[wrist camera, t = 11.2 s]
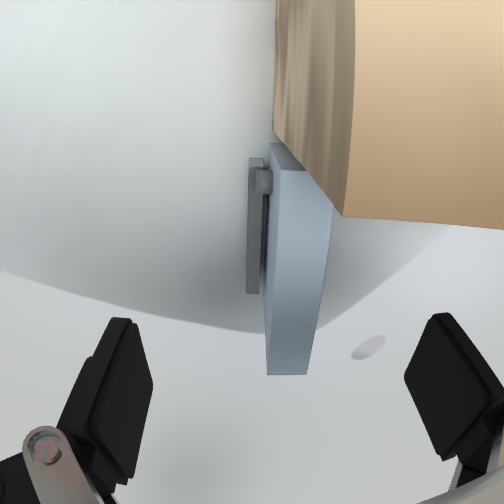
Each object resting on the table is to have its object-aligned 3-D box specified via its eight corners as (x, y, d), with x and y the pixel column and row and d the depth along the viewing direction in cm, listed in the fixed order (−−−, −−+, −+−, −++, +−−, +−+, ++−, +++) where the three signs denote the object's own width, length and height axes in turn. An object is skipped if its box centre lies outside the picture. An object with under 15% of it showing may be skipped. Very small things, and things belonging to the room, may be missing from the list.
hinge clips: (310, 272, 22) (317, 295, 20) (246, 270, 22) (245, 293, 20) (322, 161, 19) (333, 170, 16) (249, 158, 19) (248, 166, 16)
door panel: (290, 283, 23) (306, 374, 15) (252, 282, 23) (251, 374, 15) (301, 144, 19) (337, 173, 11) (256, 142, 19) (257, 169, 11)
